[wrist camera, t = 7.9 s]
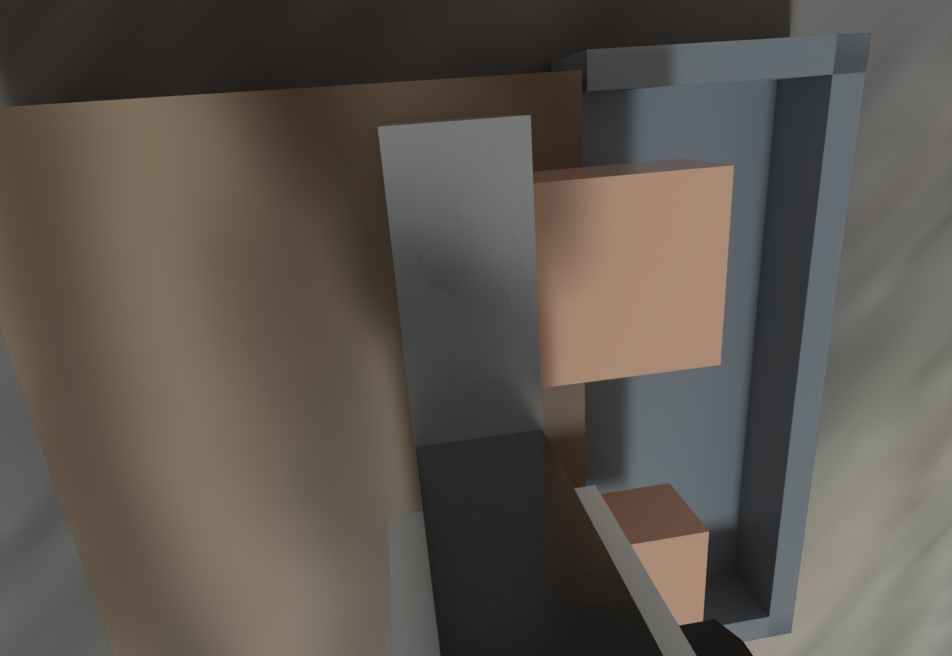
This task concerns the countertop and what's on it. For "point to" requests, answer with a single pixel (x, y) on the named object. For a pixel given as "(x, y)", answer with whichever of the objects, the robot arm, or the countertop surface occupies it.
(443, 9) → the countertop surface
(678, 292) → the tile
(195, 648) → the board
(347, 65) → the countertop surface
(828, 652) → the countertop surface
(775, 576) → the tray
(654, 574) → the tile
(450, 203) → the grey bar
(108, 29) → the countertop surface
